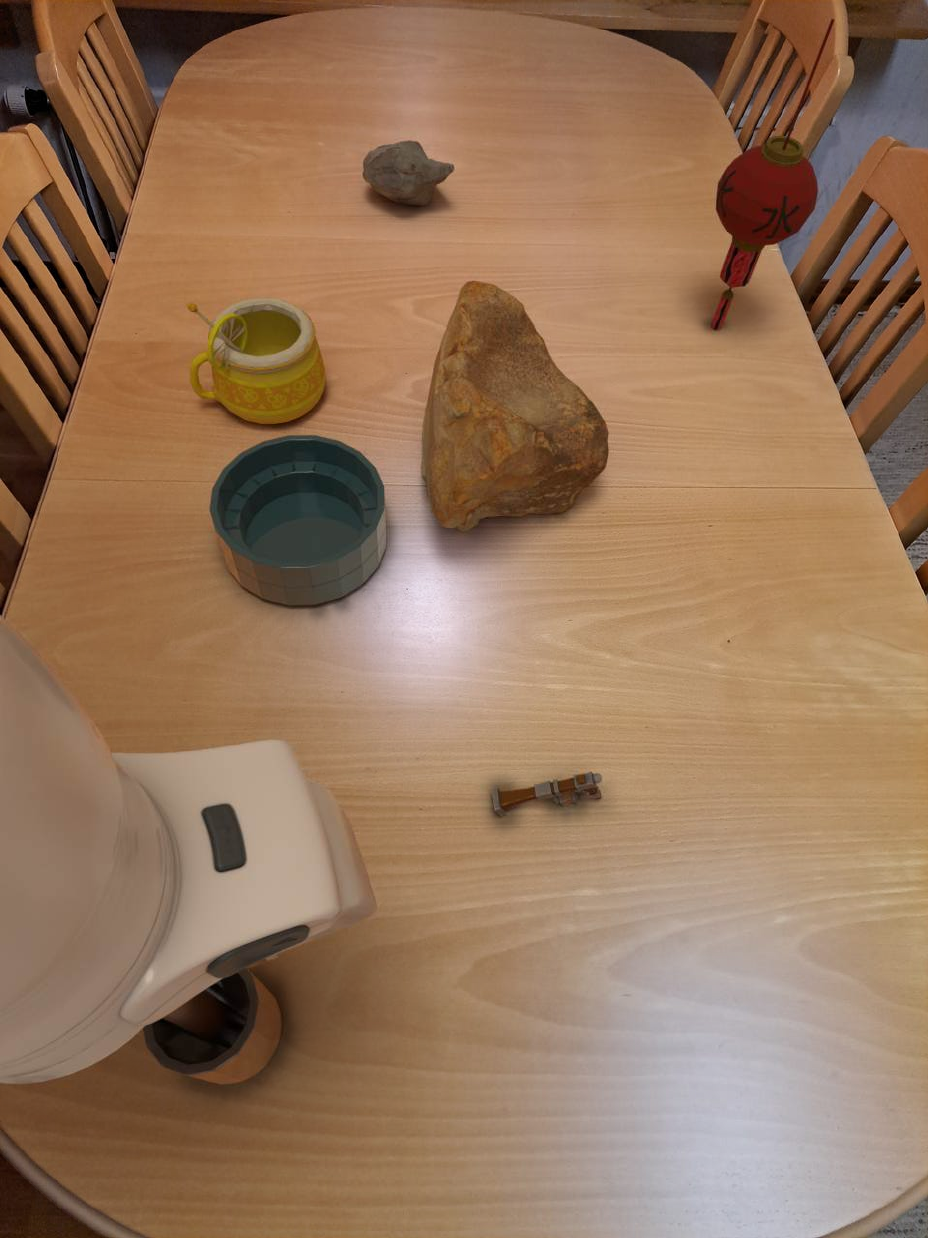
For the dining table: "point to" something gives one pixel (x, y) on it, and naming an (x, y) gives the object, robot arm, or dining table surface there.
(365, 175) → the fossil
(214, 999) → the stick
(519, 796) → the wooden lamp post
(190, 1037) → the holder
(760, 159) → the lantern
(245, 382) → the mug
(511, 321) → the orange rock
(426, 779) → the dining table surface
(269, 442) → the bowl
